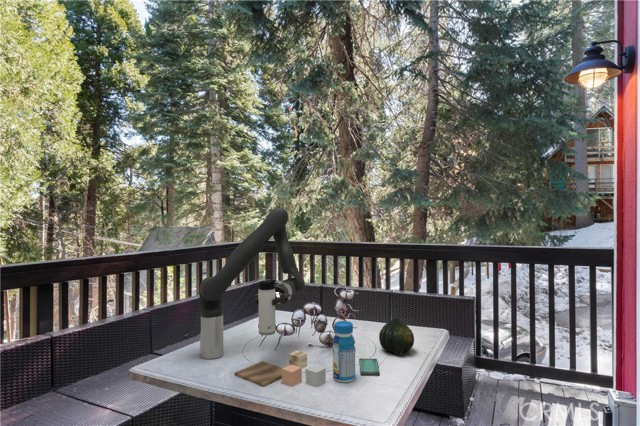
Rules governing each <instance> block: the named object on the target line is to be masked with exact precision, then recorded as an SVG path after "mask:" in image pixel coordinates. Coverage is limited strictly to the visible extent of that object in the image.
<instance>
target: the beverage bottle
mask: <svg viewBox="0 0 640 426" xmlns="http://www.w3.org/2000/svg"><path fill="white" fill-rule="evenodd" d="M353 325H354V324H353V323H352V322H351V321H348V320H340V321H336V322H335V323H334V325H333V326H334V329H333V331H334V333H335V334H334V336H333V339H332V344H333V346H332V347H331V350H332V376H333V377H332V378H333V379H334V380H335V382H339V383H350V382H353V381H354V380H355V379H356V346H355V344H356V340H355V337H354V336H353V333H354V332H353V331H354V326H353Z"/></svg>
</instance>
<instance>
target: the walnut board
mask: <svg viewBox="0 0 640 426" xmlns="http://www.w3.org/2000/svg"><path fill="white" fill-rule="evenodd" d="M282 368H283V367H281V366H278V365H276V364H275V365H274V364H271V363H268V362H266V361H264V360H263V361H259V362H257V363H255V364H252V365H249V366H247V367H245V368H242V369H239V370H237V371H235V372H234V376H235V377H238V378H240V379H243V380H246V381H248V382H250V383H253V384H255V385H257V386H260V387H263V388H264V387H267V386H269V385H270V384H273V383H275V382H277V381H279V380H282Z"/></svg>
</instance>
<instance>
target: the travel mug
mask: <svg viewBox="0 0 640 426" xmlns="http://www.w3.org/2000/svg"><path fill="white" fill-rule="evenodd" d="M276 282H277V280H276V279H266V280H261V281H260V282H258V291H257V292H258V303H259V304H258V334H259V335H261V336H272V335H274V334H275V333H276V332H277V331H276V305H275V306H273V305H272V300H273V299H274V298H275V285H276Z"/></svg>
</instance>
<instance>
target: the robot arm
mask: <svg viewBox="0 0 640 426" xmlns="http://www.w3.org/2000/svg"><path fill="white" fill-rule="evenodd" d="M288 221H289V214H288V211H287V210H286V209H285V208H282V207H275V208H272V209H271V211H269V213H268V214H267V216H266V217H265V218H264V220H263V221H262V222H261V223H260V225H259V226H258V227H257V228H256V229H255V230H254V231H251V233H249V235H248V236H247V237H246V238H244V239H243V240H242V241H241V242H240V243H239V244H238V245H237V246H236V248H234V250H233V251H232V252H231V253H230V255H229V257H228V259H227V261H226V262H225V264H224V265H223V267H222V268H221V269H220V270H219V271H218V272H217V273H216V274H215V275H214V276H208V277H205V278H204V279H202V281H201V282H200V285H199V290H198V291H199V292H198V293H199V309H200V310H199V311H200V333H199V343H200V344H199V353H200V354H199V355H200V356H201V358H202V359H204V360H214V359H217V358H221V357H223V356H224V308H223V303H222V297H223V295H225V292H226V291H227V290H228V288H229V287H230V286H231V284H233V283H234V280H236V278H237V277H238V276H240V274H242V272H244V270H245V269H246V268H247V267H248V266H249V265H250V264H251V263H252V262H253V261H254V260H255V259H256V258H257V257H258V256H259V254H260V253H261V252H262V251H263V249H264V248H265V246H266V245H267V243H268V242H269V241H270V239H271V238H272V237H273V239H274V243H275V247H276V250H277V251H276V252H277V256H278V261H279V266H280V269H281V272H282V274H284V275H285V274H286V275H287V274H288V275H289V274H290V275H292V277H290V278H287V279H283V280H282V281H281V282H280V283H277V284H275V298H274V299H273V300H272V305H273V306H275V307H276V305H277V306H278V305H281V304H282V305H283V304H286V303H289V302H291V300H292V299H291V298H292V296H294V294H298V293H303V292H304V290H305V287H306V282H305V280H304V278H303V277H302V275H301V273H300V271H299V268H298V267H297V262H296V258H295V255H294V251H293V249H292V246H291V244H290V241H289V239H288V234H287V229H286V228H287V226H286V225H287V224H288ZM253 297H254V298H253V300H254V301H253V302H254V304H255V305H259V303H258V293H256V294H255V295H254V296H253Z"/></svg>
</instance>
